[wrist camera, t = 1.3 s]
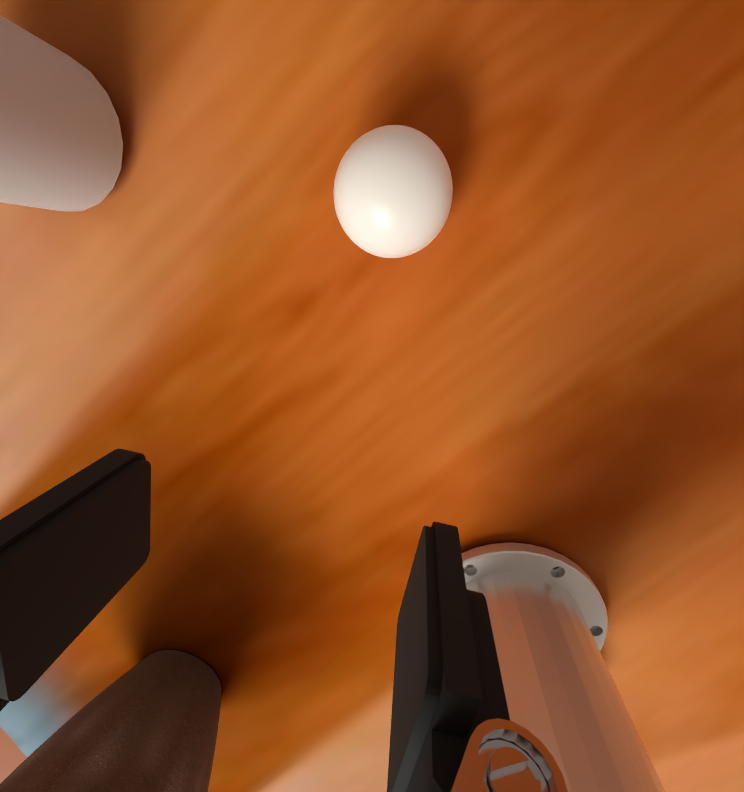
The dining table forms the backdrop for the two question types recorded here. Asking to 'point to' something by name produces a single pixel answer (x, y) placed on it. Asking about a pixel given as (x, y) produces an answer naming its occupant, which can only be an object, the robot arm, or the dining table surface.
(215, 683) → the plant pot
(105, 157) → the can
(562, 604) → the robot arm
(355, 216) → the cue ball
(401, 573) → the dining table surface
